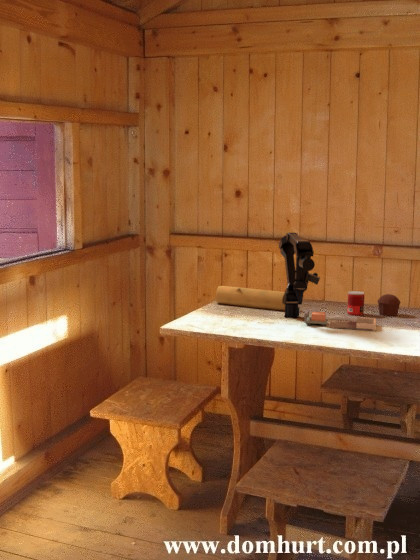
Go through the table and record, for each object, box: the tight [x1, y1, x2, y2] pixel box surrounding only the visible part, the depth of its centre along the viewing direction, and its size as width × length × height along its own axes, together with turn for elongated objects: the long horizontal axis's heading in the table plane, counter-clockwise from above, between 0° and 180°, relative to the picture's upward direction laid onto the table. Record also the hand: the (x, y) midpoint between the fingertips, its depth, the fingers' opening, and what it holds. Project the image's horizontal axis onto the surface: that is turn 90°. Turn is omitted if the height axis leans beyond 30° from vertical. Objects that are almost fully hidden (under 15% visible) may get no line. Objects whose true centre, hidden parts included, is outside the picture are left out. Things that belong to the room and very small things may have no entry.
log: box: [215, 285, 287, 312], centre depth 412 cm, size 38×10×10 cm, turn 64°
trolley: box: [304, 308, 329, 327], centre depth 372 cm, size 10×11×6 cm
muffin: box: [377, 293, 401, 317], centre depth 398 cm, size 12×11×10 cm
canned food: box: [346, 290, 365, 317], centre depth 398 cm, size 8×8×11 cm
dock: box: [328, 316, 377, 332], centre depth 369 cm, size 21×14×4 cm, turn 78°
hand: (300, 300), depth 374 cm, fingers open, 9 cm apart
